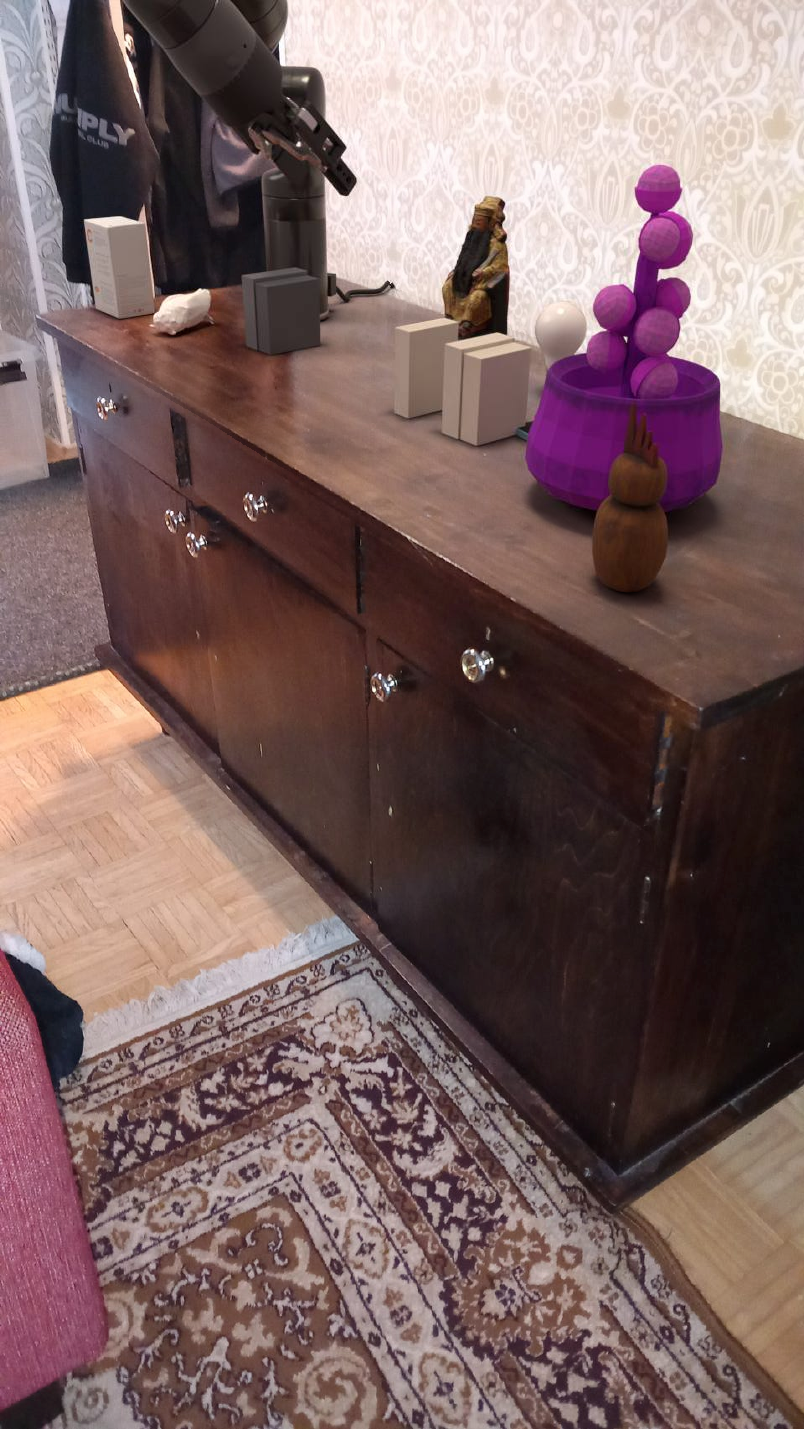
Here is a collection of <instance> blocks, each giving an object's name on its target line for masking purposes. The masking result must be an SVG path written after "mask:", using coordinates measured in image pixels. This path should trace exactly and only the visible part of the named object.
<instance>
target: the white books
mask: <svg viewBox="0 0 804 1429" xmlns="http://www.w3.org/2000/svg"><path fill="white" fill-rule="evenodd" d="M515 340H516V339H515V337H514V336H510V335H508V334H507V335H504V334H501V333H493V334H488V335H484V336H479V337H475V338H470V339H465V340H461V341H456V342H451V343H447V344H445V355H444V383H443V410H441V411H442V413H441V416H442V417H441V418H442V419H441V434H443V435H446V436H447V437H451V438H452V439H455V440H461V441H463V442H465V443H468V444H470V445H473V446H475V447H478V446H482V445H485V444H489V443H492V442H496V441H499V440H502V439H506V438H510V437H513V436H517V435H516V428H519V427H523V426H525V422H527V421H526V420H527V408H528V397H529V396H528V395H529V383H530V372H531V371H530V370H531V360H532V359H531V358H532V347H531V346H528V345H524V344H521V343H518V342H515Z"/></svg>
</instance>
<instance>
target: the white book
mask: <svg viewBox="0 0 804 1429" xmlns="http://www.w3.org/2000/svg"><path fill="white" fill-rule="evenodd" d="M458 324H459V322H457V321H453V320H450V319H447V318H444V317H439V318H435V319H431V320H430V319H429V320H426V321H421V322H415V323H411V324H410V323H409V324H406V325H405V324H404V325H400V326H396V327H395V331H394V333H395V334H394V337H395V338H394V414H395V415H398V416H401V417H403V418H406V419H413V418H417V417H420V416H425V415H428V414H432V413H437V412H440V411H442V410H443V383H444V355H445V344H447V343H451V342H456V341H458Z"/></svg>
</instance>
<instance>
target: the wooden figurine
mask: <svg viewBox="0 0 804 1429" xmlns="http://www.w3.org/2000/svg"><path fill="white" fill-rule="evenodd" d="M666 485H667V468H666V465H665V463H664V461H663V459H661V458H660V457H658V444H657V443H656V444H653V432H652V431H648V432H647V434H646V414H642V417H641V421H640V424H639V427H638V430H637V418H636V405H635V403H634V402H633V403H631V407H630V413H629V419H628V425H627V430H626V436H625V442H624V449H623V454H621V455H619V456H618V457H617V458H616V459H615V461H614V462H613V464H612V467H611V470H610V474H609V482H608V486H609V491H610V494H611V495H610V496H608V497H607V498H606V499H605V500H604V501H603V502H602V503H601V505H600V507H599V509H598V511H596V514H595V518H594V523H593V528H592V529H593V530H592V540H591V543H592V546H591V553H592V561H593V566H594V570H595V575H596V577H597V578H598V580H599V581H600V582H601V583H602V584H603V585H604V586H606V587H607V588H608V589H611V590H614V591H617V592H622V593H635V592H639V591H642V590H644V589H646V588H647V587H649V586H650V585H651V584H652V583H653V582H654V580H655V579H656V577H657V576H658V574H659V572H660V570H661V569H662V567H663V565H664V562H665V559H666V557H667V552H668V546H669V543H668V542H669V530H668V520H667V515H666V512H664V511H663V509H662V507H661V506H660V504H659V503H658V501H659V500H660V499H661V498H662V496H663V494H664V492H665V490H666Z"/></svg>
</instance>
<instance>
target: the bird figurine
mask: <svg viewBox="0 0 804 1429" xmlns="http://www.w3.org/2000/svg"><path fill="white" fill-rule="evenodd" d="M211 301H212V297H211V292H210V290H209V289H208V288H198V289H197V290H196V291H194V292H192V293H187V294H183V293H182V294H181V293H177V294H173V295H169V296H167V297H166V298H164V300H163V301H162V302H161V305H160V307H159V310H158V311H157V312H155V313H153V317H152V318H153V324H149V327H151V328H153V329H154V330H157V331H159V332H160V333H167V334H169V335H172V336H175V335H176V334H177V333H178V332H181V331H184V330H185V329H189V328H191V327H195V326H196V325H198V324H200V323H201V322H202V321H203V322H206V323H207V324H209V323H210V324H211V325H214V322H213V321H214V319H213V317H211V315H210V314H209V313H208V312H209V310H210V308H211Z"/></svg>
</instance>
